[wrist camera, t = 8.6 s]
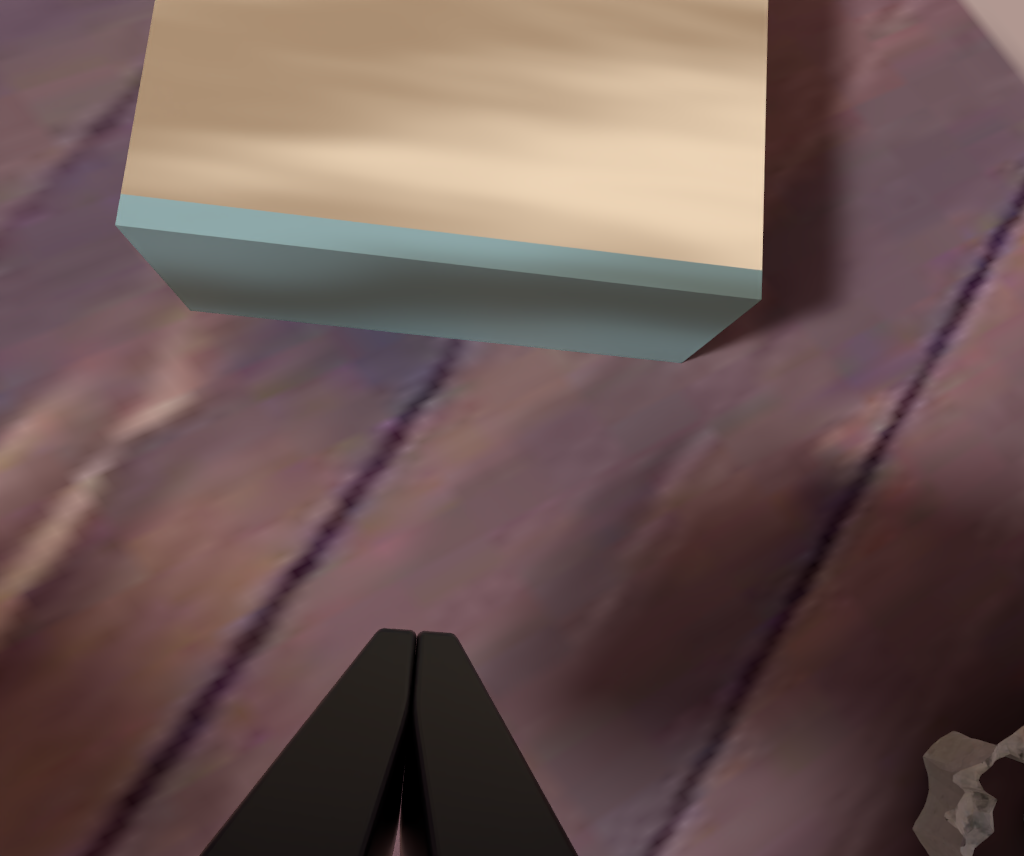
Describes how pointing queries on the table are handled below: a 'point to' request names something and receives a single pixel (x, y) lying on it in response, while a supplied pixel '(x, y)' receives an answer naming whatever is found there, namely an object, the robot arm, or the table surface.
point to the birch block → (458, 166)
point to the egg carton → (961, 792)
